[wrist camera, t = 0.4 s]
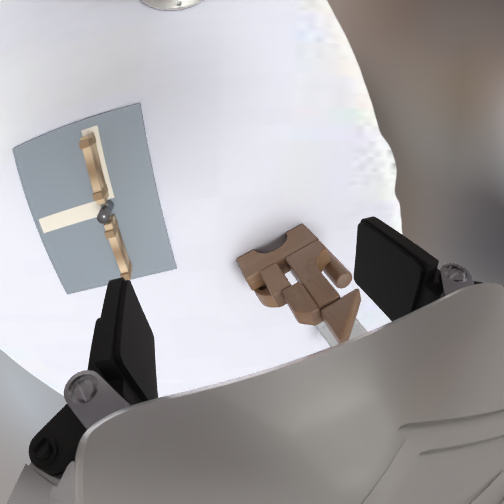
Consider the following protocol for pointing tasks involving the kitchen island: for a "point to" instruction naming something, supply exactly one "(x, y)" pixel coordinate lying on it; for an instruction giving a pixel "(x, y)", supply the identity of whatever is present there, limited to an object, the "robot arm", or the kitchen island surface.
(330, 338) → the skincare box
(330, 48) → the kitchen island surface
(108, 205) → the fence post
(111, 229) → the tan wooden bar
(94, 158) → the fixed fence rail
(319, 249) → the wooden toy
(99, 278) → the board
